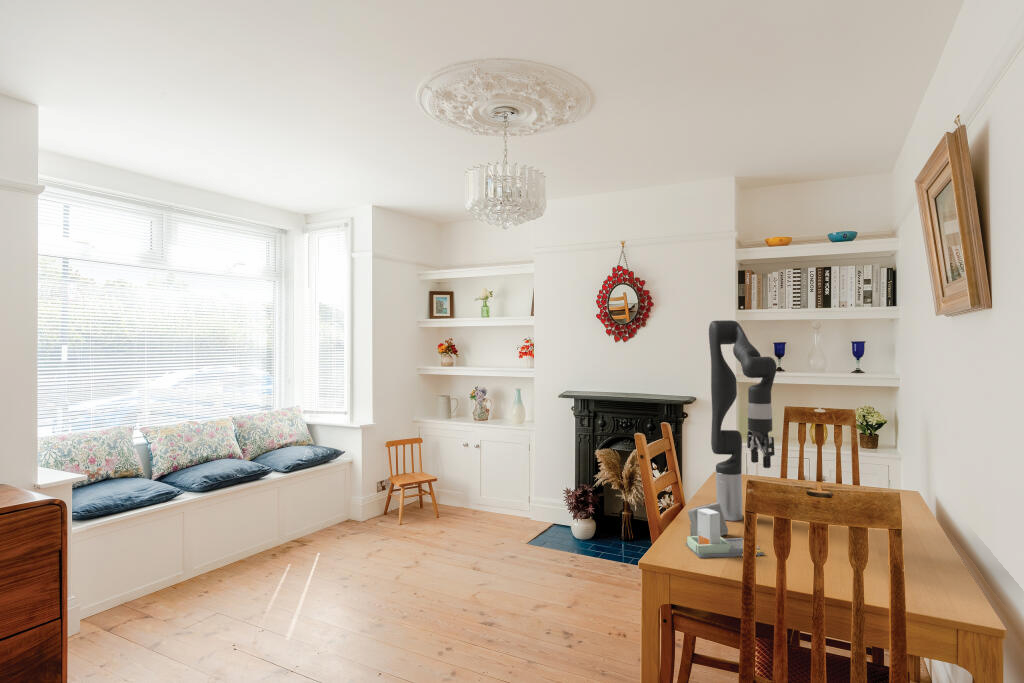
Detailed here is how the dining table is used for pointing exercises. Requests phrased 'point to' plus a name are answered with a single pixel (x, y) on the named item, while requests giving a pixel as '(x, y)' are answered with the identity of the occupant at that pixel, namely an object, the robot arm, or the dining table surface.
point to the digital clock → (694, 519)
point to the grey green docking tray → (716, 548)
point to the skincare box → (708, 526)
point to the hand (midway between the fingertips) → (760, 465)
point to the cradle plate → (736, 544)
